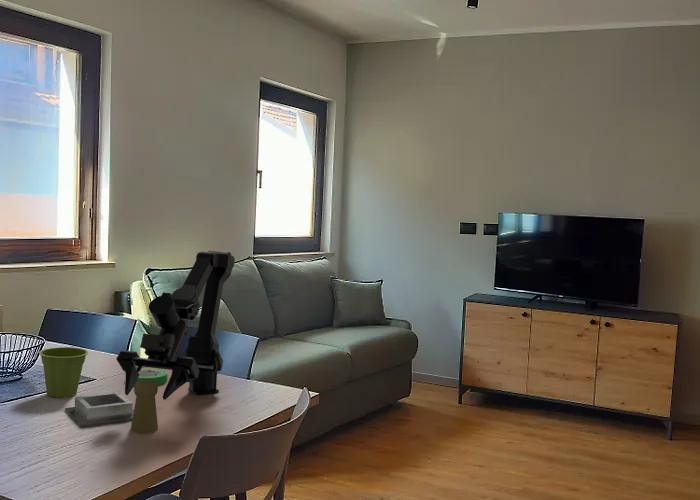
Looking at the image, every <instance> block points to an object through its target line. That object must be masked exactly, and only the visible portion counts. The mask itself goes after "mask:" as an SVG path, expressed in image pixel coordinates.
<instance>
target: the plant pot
mask: <svg viewBox="0 0 700 500" xmlns="http://www.w3.org/2000/svg"><path fill="white" fill-rule="evenodd" d="M88 354H89V351H88V349H85V348H81V347H70V346H69V347H67V346H64V347H63V346H62V347H61V346H59V347H50V348H44V349H41V350H40V351H39V352H38V355H40V356H41V363H42V365H43V376H44V382H45V389H46V395H47V396H48V397H56V398H59V399H60V398H61V399H62V398H70V397H73V396H74V395H77V393H78V389H79V384H80V379H81V374H82V371H83V367H84V363H85V360H86V356H87V355H88Z"/></svg>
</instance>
